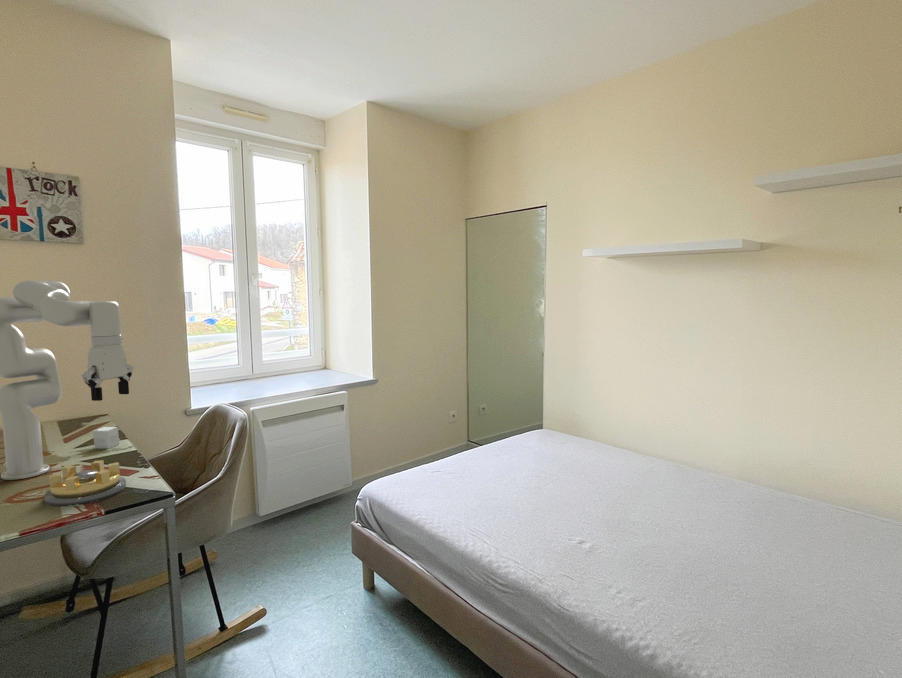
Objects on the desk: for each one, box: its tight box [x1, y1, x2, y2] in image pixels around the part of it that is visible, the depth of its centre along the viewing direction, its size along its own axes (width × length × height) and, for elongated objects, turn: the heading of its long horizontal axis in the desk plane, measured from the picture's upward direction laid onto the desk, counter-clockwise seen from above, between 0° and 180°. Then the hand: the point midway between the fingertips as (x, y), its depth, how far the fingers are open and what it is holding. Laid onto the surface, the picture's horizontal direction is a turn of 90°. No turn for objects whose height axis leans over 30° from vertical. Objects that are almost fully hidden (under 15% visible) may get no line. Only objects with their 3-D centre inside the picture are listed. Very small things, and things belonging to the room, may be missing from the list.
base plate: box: [44, 476, 127, 507], centre depth 150 cm, size 20×20×2 cm
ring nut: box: [48, 459, 121, 498], centre depth 150 cm, size 17×17×6 cm
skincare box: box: [92, 426, 120, 449], centre depth 197 cm, size 6×6×7 cm
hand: (111, 397), depth 150 cm, fingers open, 9 cm apart
